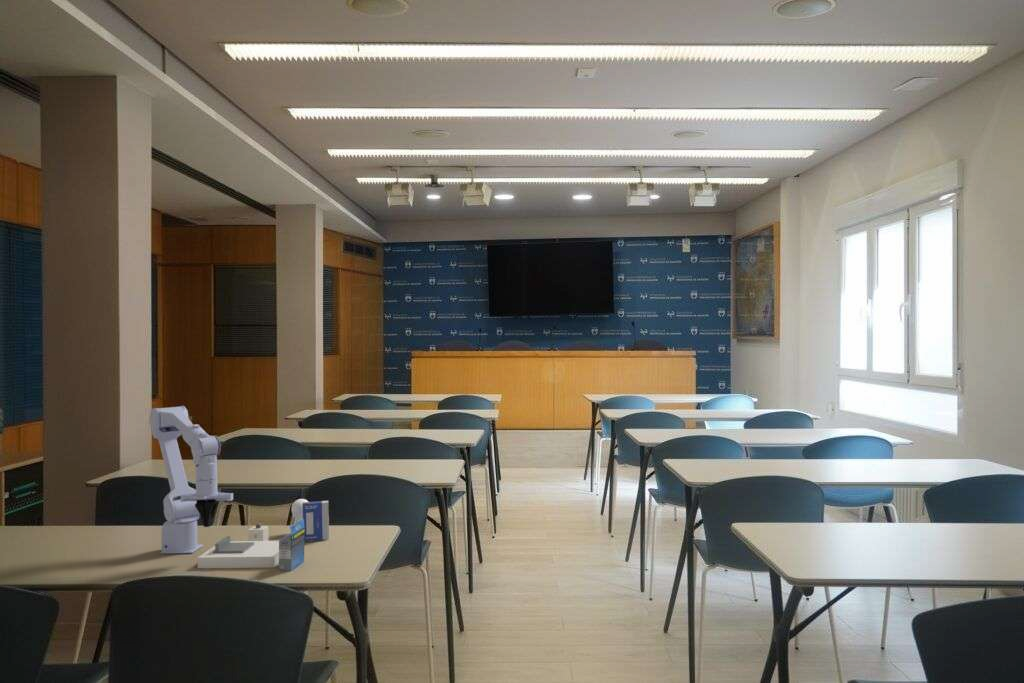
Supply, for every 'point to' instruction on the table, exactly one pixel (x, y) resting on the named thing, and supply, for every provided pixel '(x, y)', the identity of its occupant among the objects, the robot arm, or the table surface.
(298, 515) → the lightbulb
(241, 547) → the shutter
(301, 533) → the label tape box
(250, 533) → the plug
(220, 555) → the socket board
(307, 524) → the walkman
